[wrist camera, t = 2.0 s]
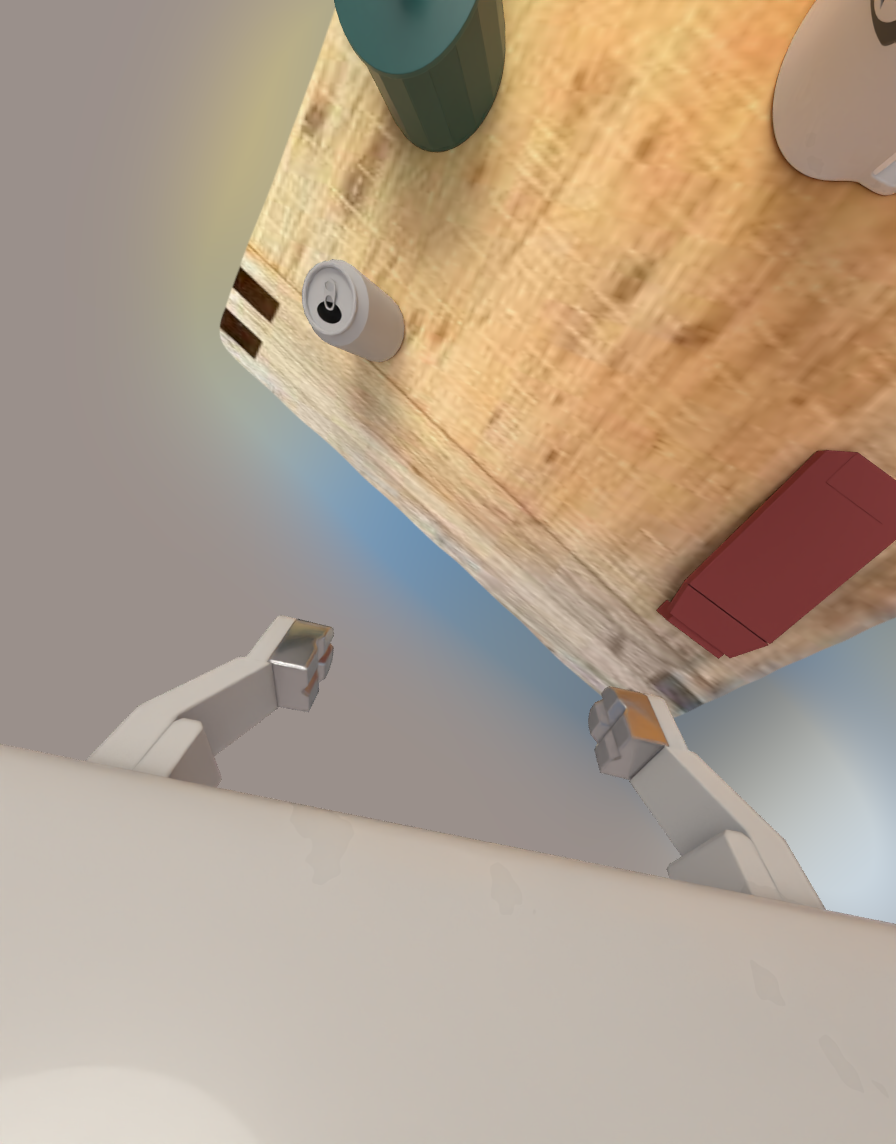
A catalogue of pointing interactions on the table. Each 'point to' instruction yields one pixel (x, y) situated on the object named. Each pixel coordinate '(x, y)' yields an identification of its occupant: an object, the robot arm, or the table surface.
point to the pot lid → (403, 32)
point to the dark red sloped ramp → (788, 555)
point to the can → (352, 311)
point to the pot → (451, 85)
